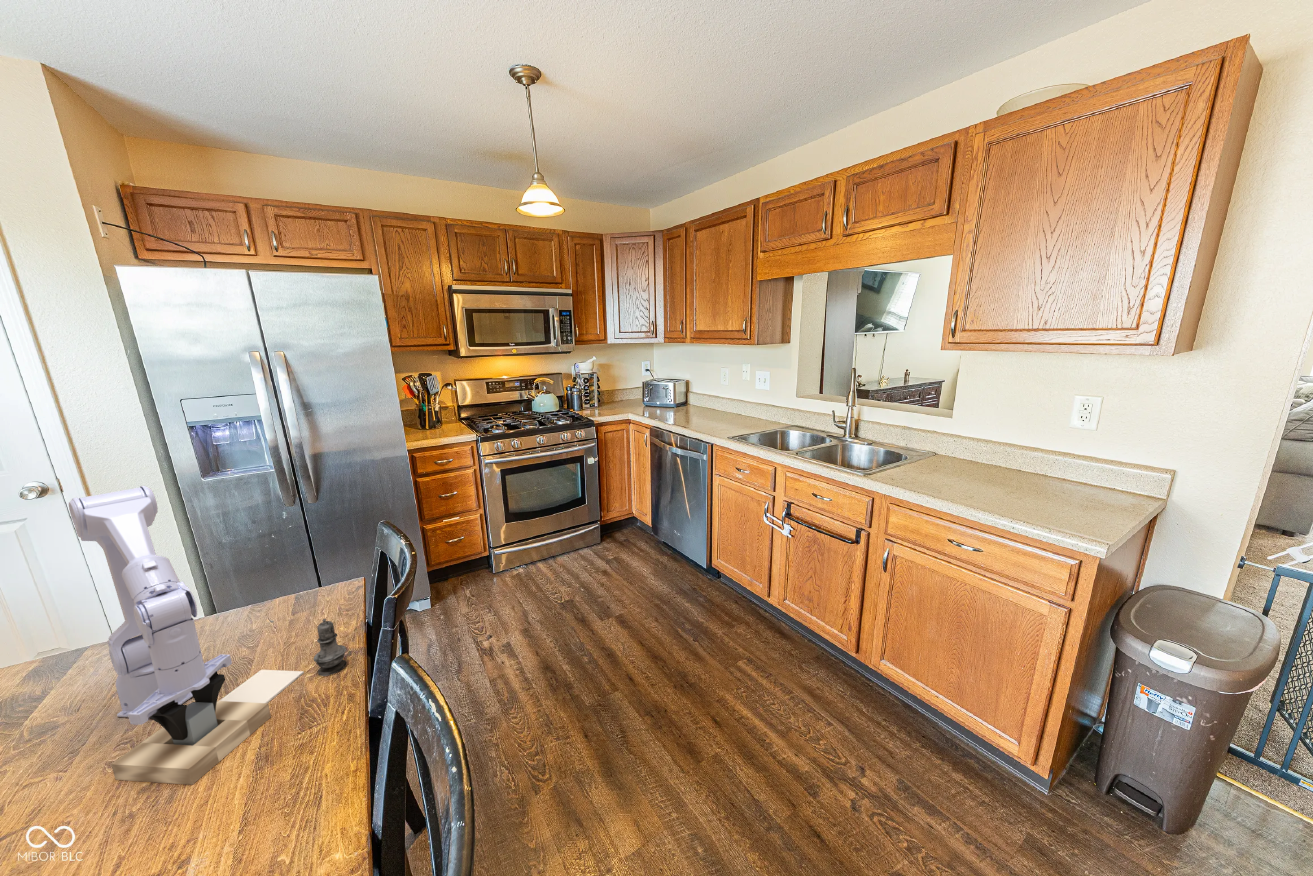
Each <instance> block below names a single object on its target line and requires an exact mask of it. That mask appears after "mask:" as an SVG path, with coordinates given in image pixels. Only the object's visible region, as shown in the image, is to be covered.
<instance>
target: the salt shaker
mask: <svg viewBox="0 0 1313 876" xmlns="http://www.w3.org/2000/svg"><path fill="white" fill-rule="evenodd" d="M317 635H318V638H317V643H318V645H319V648H320V649H319V651H318V652H317V653H316V654H315V655H314V657H313V662H315V663H316V665H317V666H318V667H319V669H318V671H317V674H318V676H320V677H326V676H327V677H328V676H332V675H335V674H337V673H340V672H341V671H342V670H344V669H345V668H346V666H347V664H348V661H346V660H345V659H344V657H345V654H346V650H347V647H346V646H345V645H342V644H338V642H337V637H338V634H337V632H335V626H334V622H333V621H331V620H327V618H323V619H322V622H321V623H319V624H318V625H317Z"/></svg>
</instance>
